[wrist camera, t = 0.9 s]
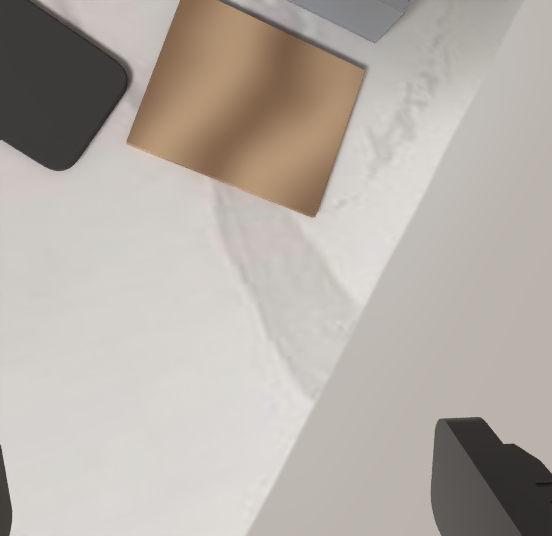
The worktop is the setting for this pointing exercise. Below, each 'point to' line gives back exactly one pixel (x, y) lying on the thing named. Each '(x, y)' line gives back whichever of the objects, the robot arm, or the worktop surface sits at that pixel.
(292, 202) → the walnut mat
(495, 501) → the robot arm
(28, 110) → the phone
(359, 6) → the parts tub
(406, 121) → the worktop surface
